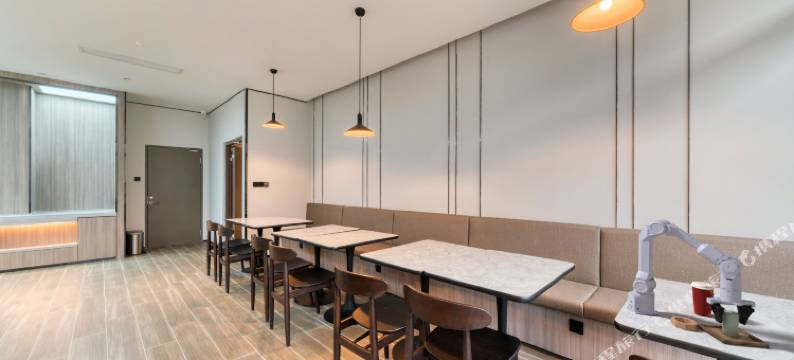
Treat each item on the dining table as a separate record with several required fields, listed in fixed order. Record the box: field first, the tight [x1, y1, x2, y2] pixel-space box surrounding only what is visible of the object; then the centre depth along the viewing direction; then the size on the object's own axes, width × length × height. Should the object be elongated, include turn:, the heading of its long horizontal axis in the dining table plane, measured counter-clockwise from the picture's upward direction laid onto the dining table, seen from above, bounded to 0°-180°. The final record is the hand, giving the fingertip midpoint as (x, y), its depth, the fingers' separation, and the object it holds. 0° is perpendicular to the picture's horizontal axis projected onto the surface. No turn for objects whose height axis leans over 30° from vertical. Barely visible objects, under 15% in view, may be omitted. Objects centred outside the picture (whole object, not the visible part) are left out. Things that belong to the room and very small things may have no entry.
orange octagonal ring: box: [670, 315, 698, 332], centre depth 129 cm, size 8×8×2 cm
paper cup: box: [690, 281, 715, 318], centre depth 140 cm, size 8×8×14 cm
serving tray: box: [696, 322, 771, 349], centre depth 120 cm, size 14×14×1 cm
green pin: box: [721, 309, 740, 338], centre depth 120 cm, size 4×4×9 cm
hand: (730, 323), depth 120 cm, fingers open, 7 cm apart
